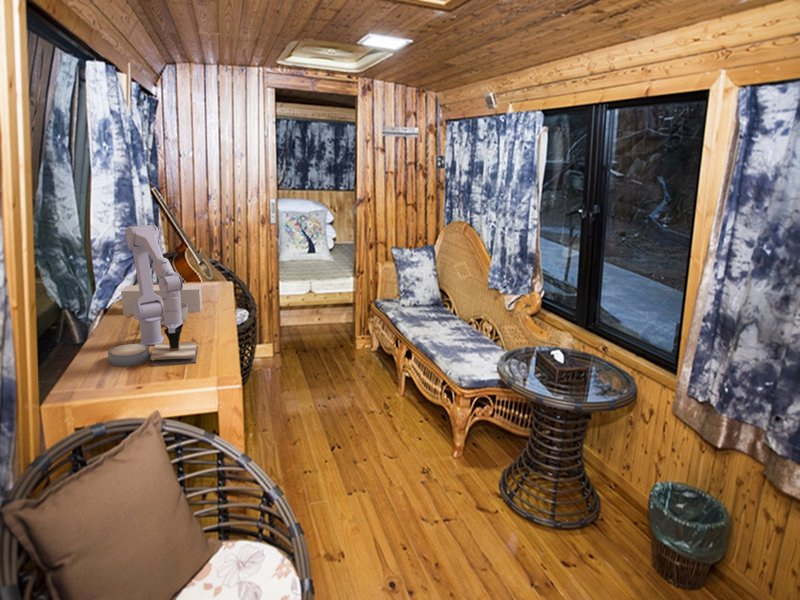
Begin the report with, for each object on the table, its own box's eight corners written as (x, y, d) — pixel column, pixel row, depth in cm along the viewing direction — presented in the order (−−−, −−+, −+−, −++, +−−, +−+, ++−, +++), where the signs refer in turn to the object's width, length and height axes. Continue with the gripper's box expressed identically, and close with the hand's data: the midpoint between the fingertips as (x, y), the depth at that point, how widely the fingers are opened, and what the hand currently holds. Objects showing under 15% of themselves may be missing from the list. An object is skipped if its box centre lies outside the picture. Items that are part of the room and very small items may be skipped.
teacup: (182, 317, 247) (181, 300, 245) (193, 323, 239) (191, 305, 237) (149, 323, 237) (148, 305, 235) (159, 330, 230) (157, 310, 228)
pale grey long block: (123, 315, 248) (120, 291, 246) (128, 308, 258) (126, 285, 256) (200, 312, 256) (199, 289, 253) (202, 306, 266) (201, 283, 263)
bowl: (112, 354, 202) (111, 344, 201) (152, 352, 205) (151, 342, 204) (105, 367, 190) (104, 357, 189) (147, 365, 193) (146, 354, 192)
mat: (157, 350, 207) (157, 348, 207) (197, 347, 211) (197, 346, 211) (151, 366, 192) (151, 364, 192) (195, 363, 196) (195, 361, 196)
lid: (155, 346, 205) (155, 332, 204) (196, 344, 209) (196, 331, 208) (150, 359, 192) (150, 345, 191) (194, 358, 197) (194, 344, 195)
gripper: (162, 304, 203) (165, 340, 206) (157, 315, 189) (160, 354, 193) (183, 303, 205) (185, 339, 208) (180, 314, 191) (182, 352, 195)
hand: (175, 346), depth 201 cm, fingers closed on lid, 3 cm apart
